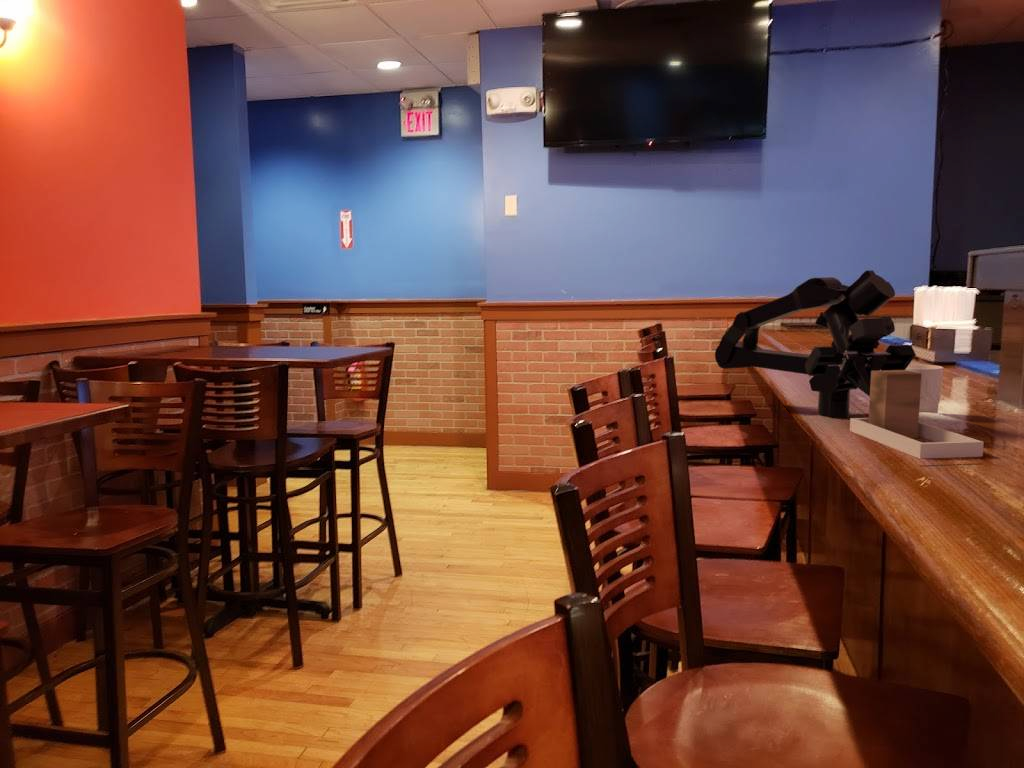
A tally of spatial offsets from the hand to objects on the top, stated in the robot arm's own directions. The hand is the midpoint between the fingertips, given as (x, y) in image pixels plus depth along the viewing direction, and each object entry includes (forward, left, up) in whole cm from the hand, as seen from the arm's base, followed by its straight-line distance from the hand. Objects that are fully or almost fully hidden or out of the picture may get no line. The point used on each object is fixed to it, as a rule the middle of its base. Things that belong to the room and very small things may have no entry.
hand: (875, 396), depth 139 cm
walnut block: (+6, +1, -6) cm, 8 cm away
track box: (+11, +2, -7) cm, 14 cm away
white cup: (-21, +16, -7) cm, 27 cm away
